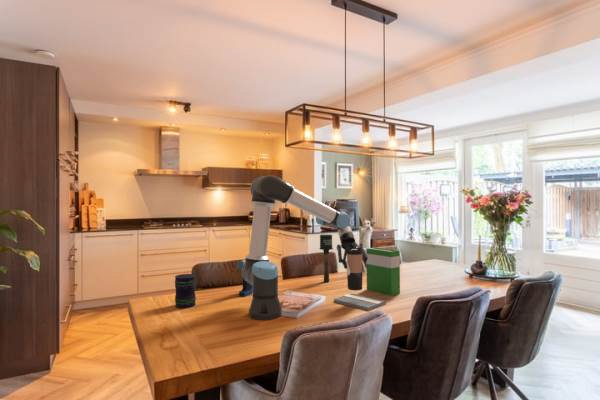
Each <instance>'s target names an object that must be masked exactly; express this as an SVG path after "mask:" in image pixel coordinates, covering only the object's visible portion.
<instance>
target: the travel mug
mask: <svg viewBox="0 0 600 400" xmlns="http://www.w3.org/2000/svg"><path fill="white" fill-rule="evenodd" d="M346 261H348V264H349V268H350V275H348V274H346V275H347V276H346V277H347V289H348V290H350V291H362V290H363V275H364V274H363V267H362V249H361V248H358V247H356V248H348V249H347V257H346Z"/></svg>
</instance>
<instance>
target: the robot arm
mask: <svg viewBox="0 0 600 400" xmlns="http://www.w3.org/2000/svg"><path fill="white" fill-rule="evenodd" d="M249 191H250V194H251V204H252V205H253V213H252V214H253V215H252V223H251V232H250V240H249V241H250V243H249V253H248V254H247V255H246V256H245V259H244V260H245V264H244V265H243V267H242V270H241V276H242V279H243V278H244V280H245V281H246V282H247V283H249V284H251V285H252V287H253V294H252V299H251V302H250V307H249V309H248V316H249V317H250V318H251V319H254V320H259V321H260V320H261V321H262V320H265V321H266V320H273V319H277V318H279V317H281V316H282V315H283V309H282V305H281V303H280V299H279V270H278V265H277V263H275V262H272V261H270V257H268V255H267V253H268V242H269V235H270V233H269V232H270V224H271V215H272V207H274V206H275V205H276V204H275V203H276V201H278V202H281V203H282V204H289V205H291V206H293V207H295V208H297V209H299V210H302V211H303V212H305V213H307V214H310V215H312V216H314V217H315V222H316V223H317V224H318V225H320V226H324V227H328V228H333V229H336V231H337V232H338V233H337V234H338V236H339V237H338V238H339V241H340V244H337V245H336V250H337V257H338V259H337V260H338V263H339V264H342V265H343V269H345V270H346V273H347V274H348V275H350V268H349V264H348V261H347V249H348V248H361V249H362V267H363V275H366V274H367V259H368V257H367V255H366V250H365V249H364V247H363V243H359V244H358V243H357V242H356V239H355V236H354V232H353V229H352V227H351V226H352V225H351V217H350V215H349V214H348V213H346V212H345V211H338V210H336V209H334V208H332V207H330V206H328V205H326V203H325V204H324V203H323V202H321V201H319V200H317V199H315V198H313V197H311V196H310V195H307V194H305V193H303V192H302V191H300V190H298V189H296V188H295V187H294V185H293V184H291V183H289V182H287V181H286V180H283V179H282V178H280V177H278V176H277V175H271V174H269V175H263V176H259V177H257V178H255V179H254V180H253V181H252V182H251V185H250V190H249ZM342 249H343V250H344V253H342ZM342 254H343V255H342ZM347 274H346V275H347Z"/></svg>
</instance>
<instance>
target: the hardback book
mask: <svg viewBox="0 0 600 400" xmlns="http://www.w3.org/2000/svg"><path fill="white" fill-rule="evenodd" d="M365 249H366V250H365V253H366V255H367V257H368V259H367V261H366V290H368V291H371V292H374V293H378V294H382V295H387V296H391V297H392V296H396V295H399V294H401V276H400V275H401V269H400V268H401V267H400V265H401V264H400V261H401V258H400V257H401V256H400V254H401V253H400V252H401V251H400V250H399V249H392V248H383V247H375V246H373V248H369V247H368V248H365Z"/></svg>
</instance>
